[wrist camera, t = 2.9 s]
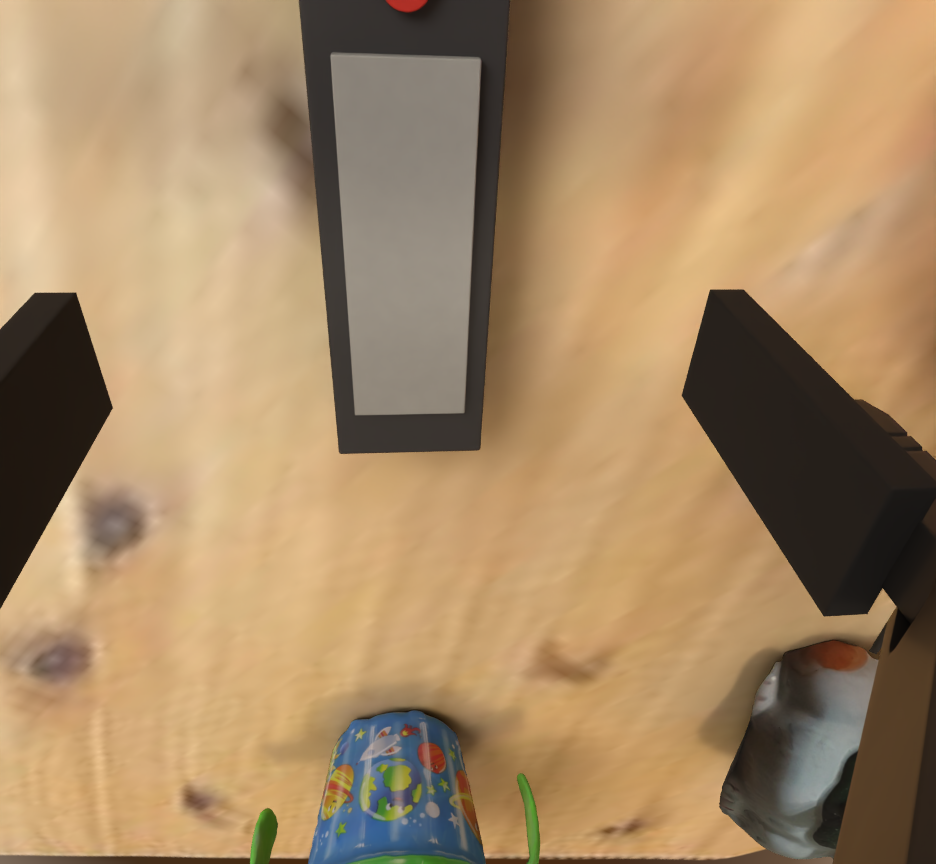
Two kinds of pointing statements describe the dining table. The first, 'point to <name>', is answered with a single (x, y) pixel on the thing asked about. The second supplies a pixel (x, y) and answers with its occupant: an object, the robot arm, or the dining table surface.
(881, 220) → the dining table surface
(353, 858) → the snack cup
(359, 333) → the tv remote
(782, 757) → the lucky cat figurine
